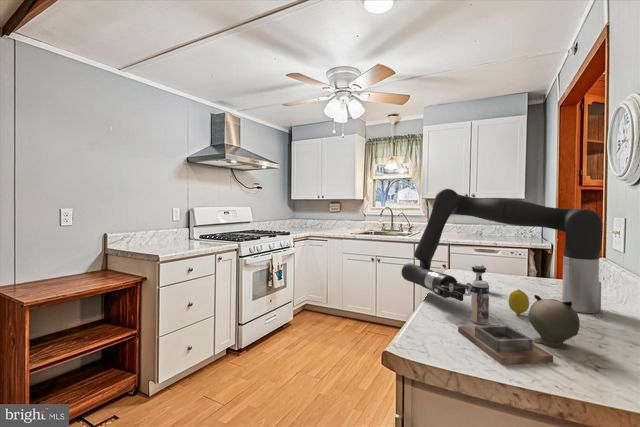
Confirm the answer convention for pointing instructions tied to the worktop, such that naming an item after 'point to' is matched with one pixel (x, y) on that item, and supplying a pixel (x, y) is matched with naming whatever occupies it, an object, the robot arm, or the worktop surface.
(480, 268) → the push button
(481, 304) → the beer can
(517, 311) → the lemon
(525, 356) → the walnut dock
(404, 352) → the worktop surface
